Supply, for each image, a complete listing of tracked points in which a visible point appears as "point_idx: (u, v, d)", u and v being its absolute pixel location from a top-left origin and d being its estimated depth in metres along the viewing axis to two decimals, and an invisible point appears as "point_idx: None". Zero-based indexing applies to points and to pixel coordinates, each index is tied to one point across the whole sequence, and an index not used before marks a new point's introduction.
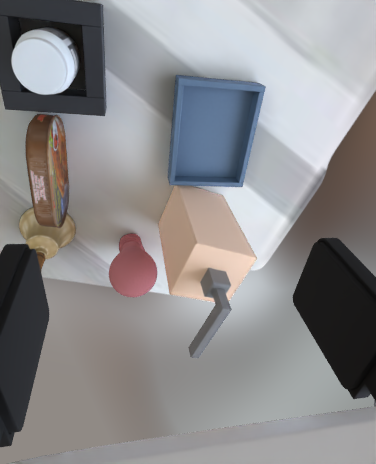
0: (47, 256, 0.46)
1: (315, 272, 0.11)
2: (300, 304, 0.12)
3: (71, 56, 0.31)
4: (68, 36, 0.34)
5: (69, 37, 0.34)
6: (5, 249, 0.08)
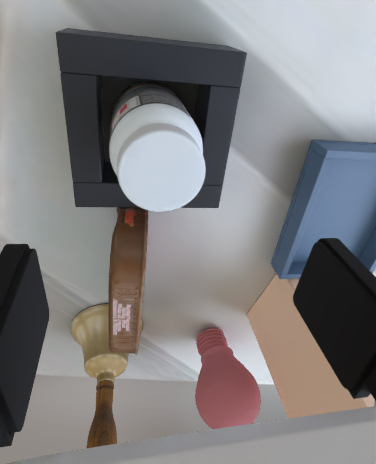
0: None
1: (315, 272, 0.11)
2: (300, 304, 0.12)
3: (201, 141, 0.18)
4: (177, 97, 0.22)
5: (178, 98, 0.22)
6: (5, 249, 0.08)
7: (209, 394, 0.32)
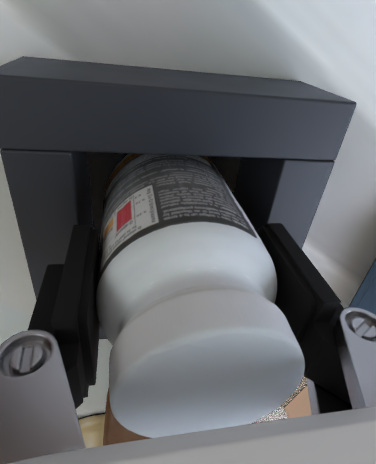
0: None
1: None
2: None
3: None
4: (216, 169, 0.13)
5: (216, 169, 0.13)
6: (74, 228, 0.09)
7: None
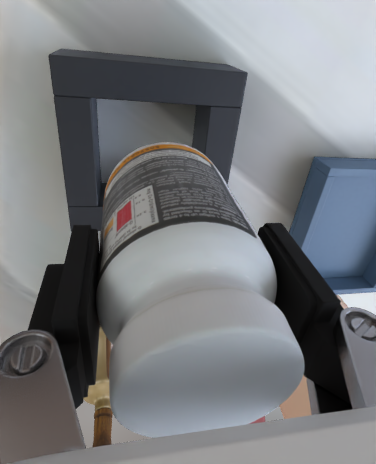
0: None
1: None
2: None
3: (276, 278, 0.10)
4: (215, 169, 0.13)
5: (216, 169, 0.13)
6: (74, 228, 0.09)
7: None
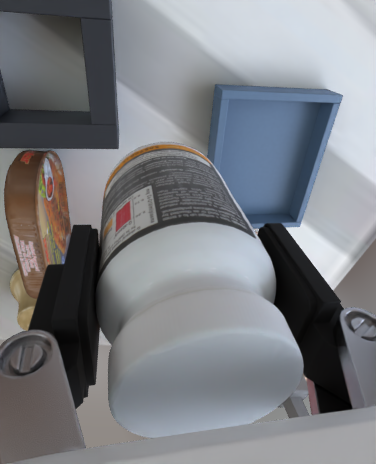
0: None
1: None
2: None
3: None
4: (215, 169, 0.13)
5: (215, 169, 0.13)
6: (74, 228, 0.09)
7: None
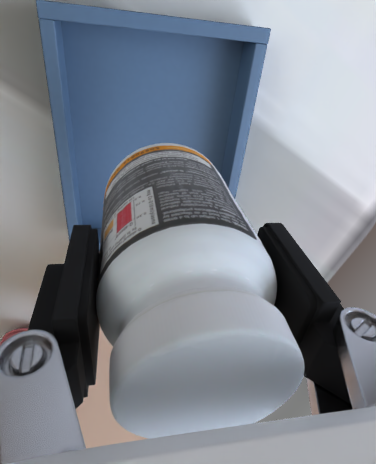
0: None
1: None
2: None
3: (276, 280, 0.10)
4: (215, 170, 0.13)
5: (216, 170, 0.13)
6: (74, 228, 0.09)
7: None
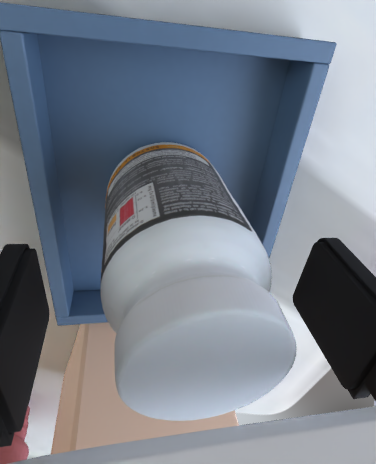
0: None
1: (315, 272, 0.11)
2: (300, 304, 0.12)
3: None
4: (213, 168, 0.14)
5: (213, 168, 0.14)
6: (5, 249, 0.08)
7: None
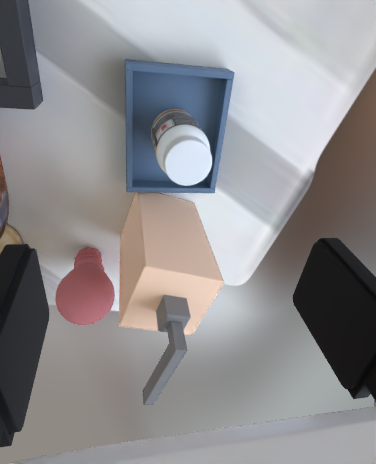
0: None
1: (315, 272, 0.11)
2: (300, 304, 0.12)
3: (209, 145, 0.32)
4: None
5: None
6: (5, 249, 0.08)
7: (61, 287, 0.37)
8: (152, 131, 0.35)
